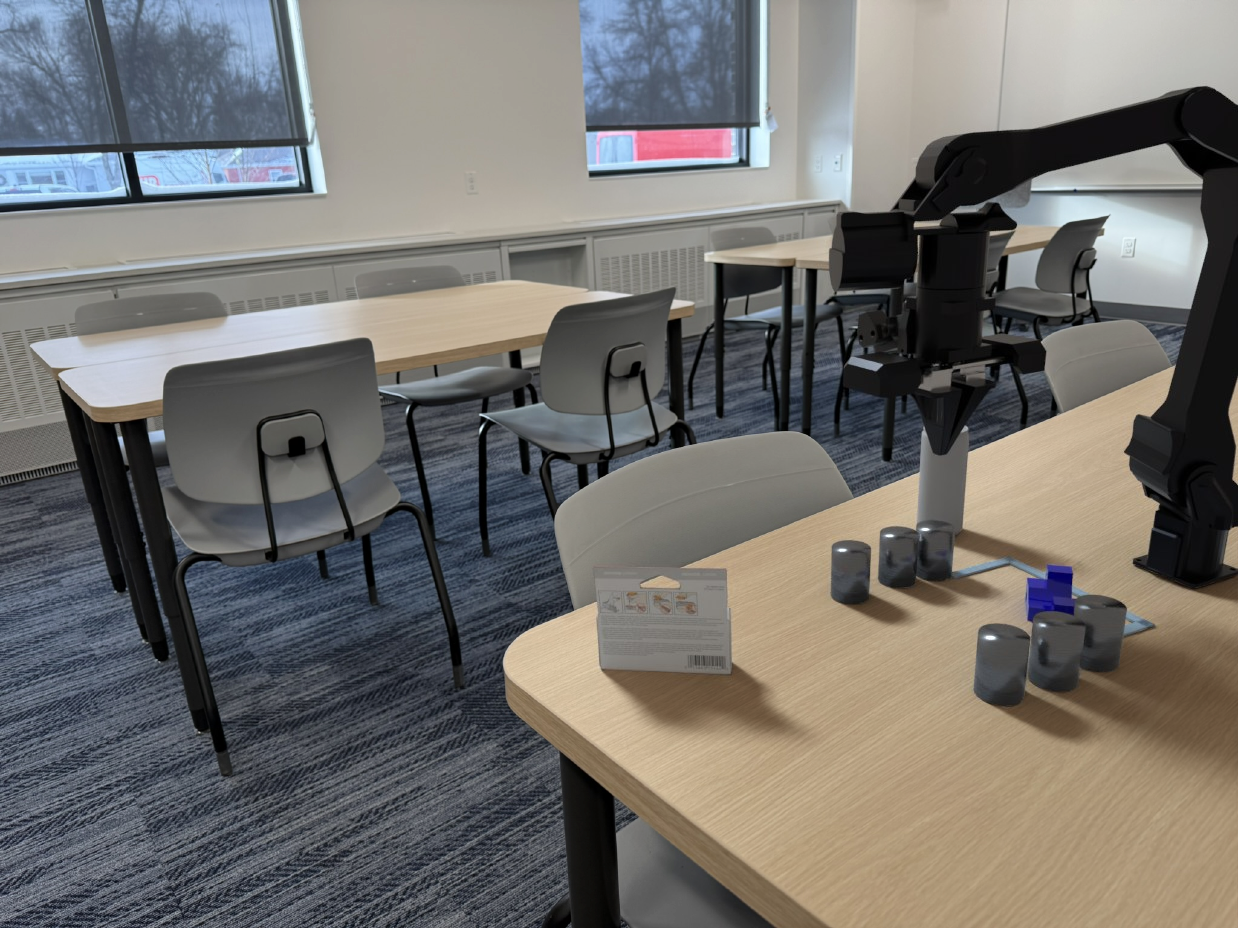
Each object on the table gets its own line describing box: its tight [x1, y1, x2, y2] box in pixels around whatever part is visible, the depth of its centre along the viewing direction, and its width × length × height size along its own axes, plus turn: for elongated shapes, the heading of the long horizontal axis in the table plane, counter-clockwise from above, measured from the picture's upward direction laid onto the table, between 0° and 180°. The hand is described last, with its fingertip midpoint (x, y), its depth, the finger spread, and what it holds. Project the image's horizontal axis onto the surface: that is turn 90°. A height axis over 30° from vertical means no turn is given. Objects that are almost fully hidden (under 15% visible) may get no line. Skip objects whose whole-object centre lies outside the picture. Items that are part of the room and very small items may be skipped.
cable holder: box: [1024, 563, 1076, 622], centre depth 75 cm, size 8×4×4 cm, turn 159°
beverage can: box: [916, 425, 970, 536], centre depth 94 cm, size 5×5×12 cm
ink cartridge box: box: [592, 566, 733, 675], centre depth 71 cm, size 2×11×10 cm, turn 80°
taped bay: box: [951, 556, 1155, 637], centre depth 79 cm, size 8×16×1 cm, turn 22°
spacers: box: [830, 520, 1128, 707], centre depth 75 cm, size 14×23×5 cm, turn 22°
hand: (939, 454), depth 80 cm, fingers closed
